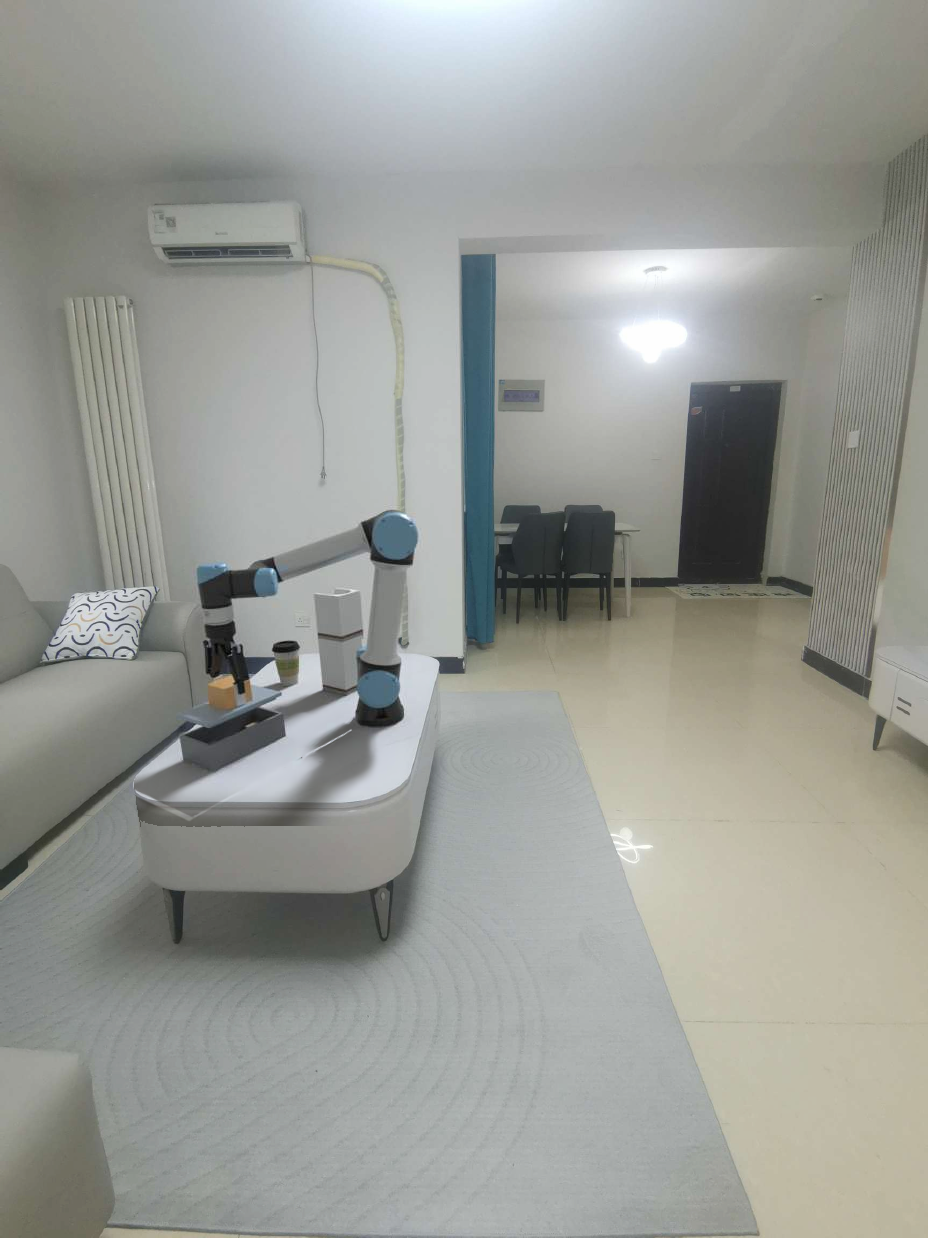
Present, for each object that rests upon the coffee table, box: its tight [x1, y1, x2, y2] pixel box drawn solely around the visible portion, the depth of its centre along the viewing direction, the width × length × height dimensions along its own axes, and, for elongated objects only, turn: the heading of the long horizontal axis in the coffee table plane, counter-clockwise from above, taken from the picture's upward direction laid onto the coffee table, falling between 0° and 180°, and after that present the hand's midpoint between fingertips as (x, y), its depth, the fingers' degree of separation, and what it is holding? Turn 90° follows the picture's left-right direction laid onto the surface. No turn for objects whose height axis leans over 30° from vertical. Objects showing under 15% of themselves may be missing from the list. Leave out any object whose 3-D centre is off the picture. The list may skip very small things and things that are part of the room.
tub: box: [178, 706, 287, 773], centre depth 164 cm, size 13×24×8 cm, turn 148°
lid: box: [176, 674, 283, 728], centre depth 161 cm, size 13×24×8 cm, turn 148°
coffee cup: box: [271, 640, 301, 687], centre depth 215 cm, size 10×10×15 cm
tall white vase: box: [313, 587, 365, 696], centre depth 206 cm, size 11×11×35 cm
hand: (231, 701), depth 161 cm, fingers closed on lid, 8 cm apart
